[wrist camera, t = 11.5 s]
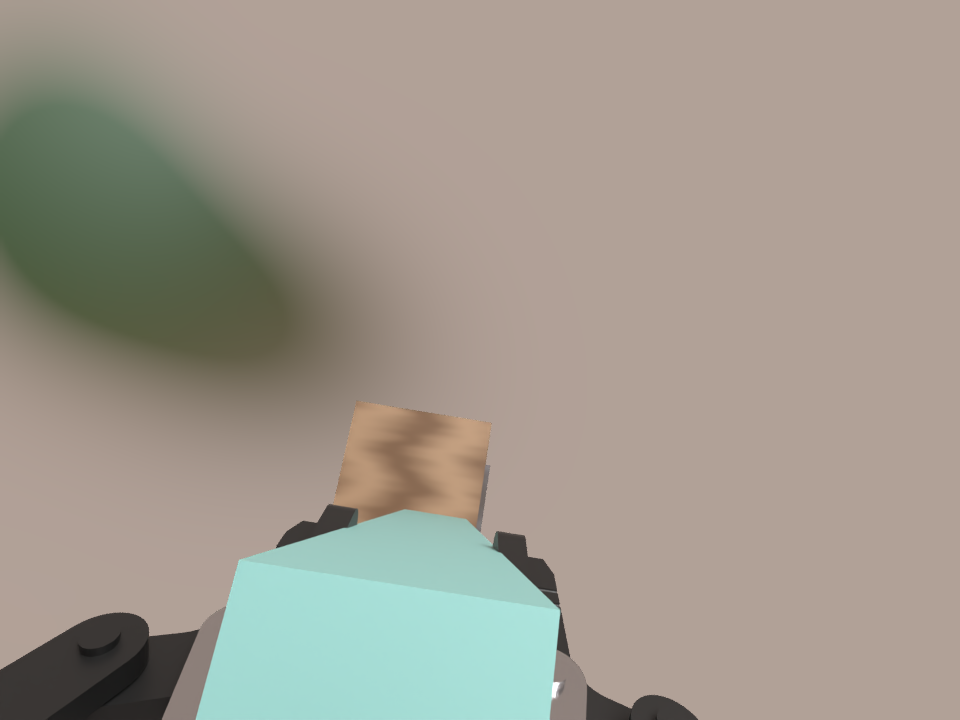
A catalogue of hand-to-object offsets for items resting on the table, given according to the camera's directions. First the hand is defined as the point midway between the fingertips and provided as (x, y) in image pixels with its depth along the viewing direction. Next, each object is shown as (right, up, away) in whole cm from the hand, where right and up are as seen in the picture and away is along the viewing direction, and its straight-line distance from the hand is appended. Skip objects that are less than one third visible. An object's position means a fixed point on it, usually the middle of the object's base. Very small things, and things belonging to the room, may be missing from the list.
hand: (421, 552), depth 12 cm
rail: (-1, -4, +4) cm, 6 cm away
